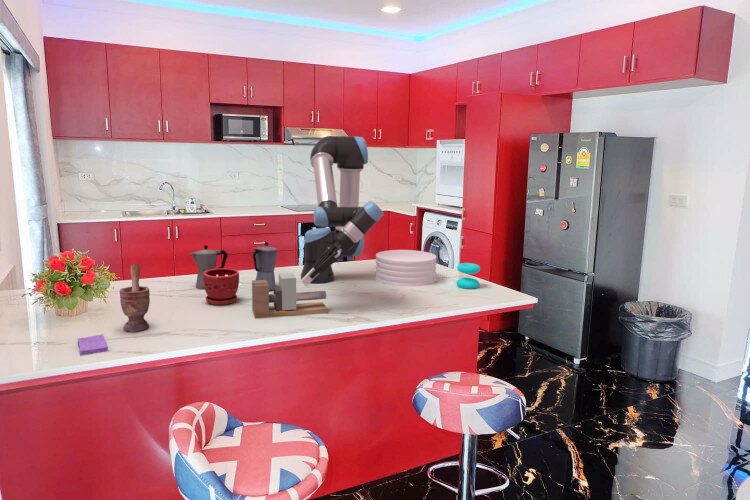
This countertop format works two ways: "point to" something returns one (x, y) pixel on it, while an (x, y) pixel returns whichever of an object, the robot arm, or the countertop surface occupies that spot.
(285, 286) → the sleeve
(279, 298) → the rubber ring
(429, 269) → the plate stack
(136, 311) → the mortar and pestle
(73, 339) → the countertop surface
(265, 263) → the moka pot
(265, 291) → the pipe rig
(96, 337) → the sponges
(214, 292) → the plant pot
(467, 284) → the donuts
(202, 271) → the coffeepot
